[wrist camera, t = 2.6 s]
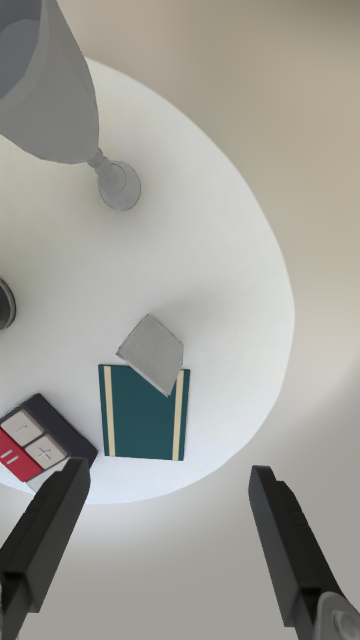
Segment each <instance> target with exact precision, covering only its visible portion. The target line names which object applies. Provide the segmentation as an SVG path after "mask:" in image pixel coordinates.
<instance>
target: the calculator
mask: <svg viewBox="0 0 360 640" xmlns="http://www.w3.org/2000/svg"><path fill="white" fill-rule="evenodd" d="M97 454H98V452H97V450H96V449H95V448H94V447H93V446H92V445H91V444H90V443H89V442H88V441H87V440H86V439H85V438H80V437H79V436H78V435H77V434H76V433H75V432H74V431H73V430H72V428H71V427H70V426H69V425H68V424H67V423H66V422H65V421H64V420H63V419H62V418H61V417H60V416H59V415H58V413H57V412H56V411H55V410H54V409H53V408H52V407H51V406H50V405H49V404H48V403H47V402H46V401H45V400H44V399H43V397H42V396H41V395H40V394H36V395H34V396H33V397H31V398H30V399H29V400H27V401H26V402H24V403H23V404H21V405H20V406H19V407H17V408H16V409H14V410H13V411H12V412H10V413H9V414H7V415H6V416H4V417H3V418H2V419H0V462H1V463H2V464H3V465H4V466H5V467H7V468H8V469H9V470H10V471H11V472H12V473H13V474H14V475H15V476H16V477H17V478H18V479H19V480H20V481H22V482H26V484H27V485H28V486H29V487H30V488H31V489H32V490H33V491H34V492H35V493H37V491H38V490H39V488H40V487H41V485H42V484H43V482H44V481H45V480H46V479H47V478H48V477H49V476H50V475H52V474H53V473H54V472H55V471H62V469H63V467H64V466H65V464H66V462H67V461H68V459H69V458H71V457H80V458H87V459H88V464H89V470H90V468H91V466H92V464H93V462H94V460H95V458H96V456H97Z"/></svg>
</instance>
